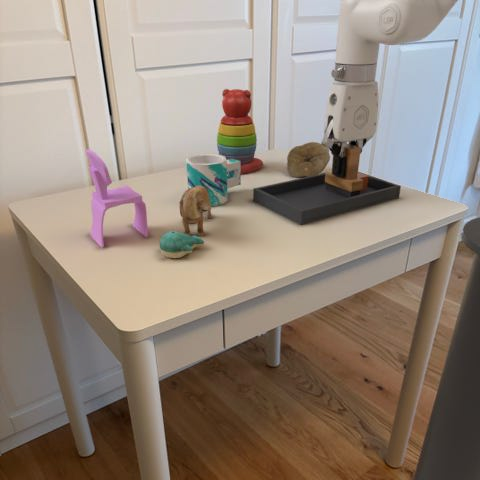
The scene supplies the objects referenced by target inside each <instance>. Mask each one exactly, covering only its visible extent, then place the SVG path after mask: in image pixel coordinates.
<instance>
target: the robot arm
mask: <svg viewBox="0 0 480 480" xmlns="http://www.w3.org/2000/svg"><path fill="white" fill-rule="evenodd" d="M458 1H459V0H341V1H340V3H339V11H338V23H337V33H336V34H337V36H336V48H335V58H334V59H335V60H334V69H332V70H331V77H332V78H333V81H332V82H331V84H330V88H329V91H328V97H327V101H326V107H325V114H324V122H323V123H324V124H323V138H322V139H321V142H320V144H322V145H323V146H325V147H327V148H328V149H329V152H330V153H331V155H332V160H333V168H332V167H331V171H332V174H333V175H336V176H338V177H341V178H343V177H345V171H346V161H347V157H344V156H345V151H346V144H350V145H354V146H357V147H361V150H360V155H361V154H362V152H363V148H364V147H365V146H366V144H367V142H369V141H370V140H371V139H373V137H374V136H375V134H376V133H377V126H378V125H377V124H378V115H379V83H378V81H376V76H377V68H378V60H379V51H380V45H381V44H382V45H387V46H400V45H404V44H409V43H416V42H419V41H422V40H424V39H425V38H428V37H429V35H431V34H432V33H433V32H434V31H435V30H437V28H438V26H440V24H441V23H442V21H443V20H444V19H445V18H446V16H447V15H448V14H449V13H450V11H451V10H452V9H453V8H454V6H455V5H456V3H457V2H458ZM338 143H340V147H339V146H338ZM333 155H334V157H333Z"/></svg>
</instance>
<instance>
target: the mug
mask: <svg viewBox="0 0 480 480" xmlns="http://www.w3.org/2000/svg"><path fill="white" fill-rule="evenodd" d="M185 163H186V176H187V190H188V189H191V188H193V187H196V186H199V185H200V186H202V187H205V188H206V189H207V192H208V195H209V203H210V204H211V205H210V207H211V208H212V207H217V206H221V205H223V204H225V203H227V202H228V201H229V200H228V189H231V188H234V187H238V186H241V185H242V177H241V175H242V174H241V165H240V161H239V160H235V159H229V160H226V157H224V156H221V155H219V154H217V153H200V154H192V155H191V156H189V157H186V158H185ZM227 172H228V174H227Z"/></svg>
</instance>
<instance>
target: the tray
mask: <svg viewBox="0 0 480 480" xmlns="http://www.w3.org/2000/svg"><path fill="white" fill-rule="evenodd" d="M325 173H326V172H323V173H322V172H321V173H319V174H317V175H313V176H309V177H308V176H303V177H299V178H295V179H291V180H287V181H282V182H278V183H273V184H268V185H263V186H259V187H255V188H253V189H252V200H253V201H252V202H253V203H257V204H258V205H260V206H262V207H265V208H267V209H269V210H270V211H272V212H274V213H276V214H278V215H280V216H282V217H284V218H286V219H288V220H290V221H292V222H294V223H297V224H298V225H300V226H303V225H305V224H306V225H307V224H309V223H314V222H317V221H322V220H325V219H328V218H331V217H336V216H340V215H343V214H347V213H350V212H353V211H358V210H361V209H365V208H368V207H372V206H375V205H379V204H384V203H387V202H390V201H394V200H398V199H400V194H401V188H402V186H401V185H399V184H396V183H394V182H390V181H388V180H385V179H382V178H378V177H376V176H372V175H370V174H367V173H364V172H361V171H358V173H361V174H364V175H367V176H369V177H368V185H367V190H365V191H361V192H360V195H357V196H353V197H349V198H347V197H344V196H342V195H339V194H337V193H334V192H332V191H329V190H327V189H326V182H325Z"/></svg>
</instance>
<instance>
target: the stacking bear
mask: <svg viewBox="0 0 480 480" xmlns="http://www.w3.org/2000/svg"><path fill="white" fill-rule="evenodd" d="M221 107H222V110H223V113H224V116H222V117H221V119H220V122H219V125H218V131H217V135H216V147H217V151H218V155H221V156H224V157H226V160H229V159H235V160H239V161H240V165H241V175H244V174H245V175H246V174H249V173H253V172H256V171H259V170H261V169H262V168H263V167H264V161H263V160H262V159H260V158H257V157H255V156H256V155H255V154H256V151H257V145H258V144H257V141H258V140H257V139H258V138H257V133H256V127H255V123H254V120H253V118H252V117H251V116H250V115H249V114H250V112H251V109H252V93H251V91H250V90H248V89H245V90H243V89H239V88H236V89H234V88H233V89H229V88H224V90H223V91H222V101H221ZM227 175H228V172H227Z"/></svg>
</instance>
